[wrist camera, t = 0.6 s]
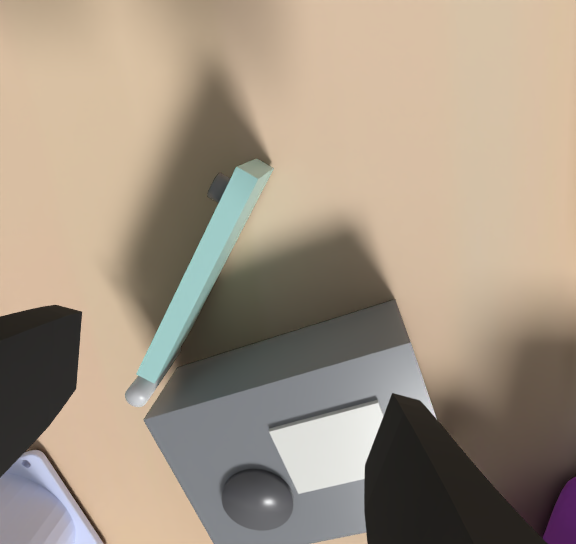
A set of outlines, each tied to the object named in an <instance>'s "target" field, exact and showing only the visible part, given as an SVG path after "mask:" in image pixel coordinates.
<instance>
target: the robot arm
mask: <svg viewBox="0 0 576 544" xmlns="http://www.w3.org/2000/svg"><path fill="white" fill-rule="evenodd" d="M81 319H82V312H81V311H77V310H73V309H70V308H66V307H62V306H58V305H51V306H45V307H39V308H35V309H30V310H26V311H21V312H17V313H13V314H9V315H5V316H1V317H0V544H104V543H103V542H102V540H101V539H100V537H99V536H98V534H97V533H96V531H95V530H94V528H93V527H92V525H91V524H90V522H89V521H88V519H87V518H86V516H85V515H84V513H83V512H82V510H81V509H80V507H79V506H78V504H77V503H76V501H75V500H74V498H73V497H72V495H71V494H70V492H69V491H68V489H67V487H66V486H65V484H64V483H63V481H62V480H61V478H60V477H59V475H58V474H57V472H56V471H55V469H54V468H53V466H52V465H51V463H50V462H49V460H48V459H47V457H46V456H45V454H44V453H43V452H41V451H39V450H31V451H28V452H25V451H26V450H27V449H28V448H29V447H30V446H31V445H32V444H33V443H34V442H35V441H36V440H37V438H38V437H39V436H40V435H41V434H42V433H43V432H44V431H45V430H46V429H47V428H48V426H49V425H50V424H51V422H52V421H53V420H54V419H55V417H56V416H57V415H58V413H59V412H60V411H61V409H62V408H63V406H64V405H65V404H66V402H67V401H68V399H69V398H70V397H71V395H72V394H73V392H74V391H75V390H76V383H77V370H78V357H79V345H80V332H81ZM364 513H365V523H366V533H367V542H368V544H547V543H546V542H545V541H544V540H543V539H542V538H541V537H540V536H539V535H538V534H537V533H536V532H535V531H534V529H533V528H532V527H531V526H530V525H529V524H528V523H527V522H526V521H525V520H524V519H523V518H522V517H521V516H520V515H519V514H518V513H517V512H516V510H515V509H514V508H513V507H512V506H511V505H510V504H509V503H508V502H507V501H506V500H505V499H504V498H503V497H502V495H501V494H500V493H499V492H498V491H497V490H496V489H495V488H494V487H493V485H492V484H491V483H490V482H489V481H488V480H487V479H486V477H485V476H484V475H483V474H482V473H481V472H480V471H479V469H478V468H477V467H476V466H475V465H474V464H473V462H472V461H471V460H470V459H469V458H468V456H467V455H466V454H465V453H464V452H463V450H462V449H461V448H460V447H459V446H458V444H457V443H456V442H455V441H454V440H453V438H452V437H451V436H450V435H449V434H448V432H447V431H446V430H445V429H444V428H443V426H442V425H441V424H440V423H439V421H438V420H437V419H436V418H435V417H434V415H433V414H432V413H431V412H430V411H429V410H428V409H427V407H426V406H425V405H424V404H423V403H422V402H421V401H420V400H417V399H413V398H410V397H406V396H402V395H398V394H394V393H392V395H391V397H390V400H389V403H388V405H387V408H386V411H385V413H384V416H383V419H382V421H381V424H380V426H379V429H378V432H377V434H376V437H375V440H374V442H373V445H372V448H371V450H370V453H369V455H368V458H367V461H366V463H365V479H364Z"/></svg>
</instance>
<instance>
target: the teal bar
mask: <svg viewBox="0 0 576 544" xmlns="http://www.w3.org/2000/svg"><path fill="white" fill-rule="evenodd" d="M273 169H274V168H273V167H271V166H269V165H267V164H265V163H264V162H262V161H260V160H258V159H257V158H256V159H254V160H251V161H249V162H246V163H244V164H242V165H239V166H237V167H236V168H235V170H234V173H233V175H232V177H231V178H229V177H227V176H225V175H223V174H222V173H219V174H218V175H217V176H216V178H215V179H214V181H213V183H212V184H211V187H210V189H209V191H208V195H207V197H208V198H210V199H212V200H214V201H216V202H218V203H219V204H218V206H217V208H216V210H215V212H214V214H213V216H212V218H211V220H210V222H209V224H208V226H207V229H206V231H205V233H204V235H203V237H202V239H201V241H200V243H199V245H198V247H197V249H196V251H195V253H194V256H193V258H192V260H191V262H190V264H189V266H188V268H187V270H186V272H185V274H184V276H183V278H182V280H181V282H180V285H179V287H178V289H177V291H176V293H175V295H174V297H173V299H172V301H171V303H170V305H169V307H168V309H167V312H166V314H165V316H164V318H163V320H162V322H161V324H160V326H159V328H158V330H157V332H156V334H155V336H154V338H153V341H152V343H151V345H150V347H149V349H148V351H147V353H146V355H145V357H144V359H143V361H142V363H141V365H140V368H139V370H138V372H137V374H136V375H138V377H137V378H136V379H135V381H134V382H133V383H132V385H131V386H130V387H129V388H128V390H127V391H126V393H125V398H126V400H127V402H128V403H129V404H130V405H132V406H135V407H141V406H144V405H145V404H146V402H147V401H148V399H149V398H150V396H151V395H152V394H153V392H154V391H155V389H156V388H157V386H158V385H159V383H160V382H161V380H162V379H163V377H164V376H165V374H166V373H167V371H168V370H169V369H170V367H171V366H172V364H173V363H174V361H175V360H176V358H177V357H178V355H179V354H180V352H181V345H182V344H183V342H184V341H185V340H186V338H187V336H188V334H189V332H190V330H191V328H192V326H193V324H194V322H195V321H196V319H197V317H198V315H199V313H200V311H201V309H202V307H203V305H204V303H205V301H206V299H207V297H208V295H209V293H210V291H211V289H212V288H213V286H214V284H215V282H216V280H217V278H218V276H219V274H220V272H221V270H222V268H223V266H224V264H225V262H226V260H227V258H228V256H229V255H230V253H231V251H232V249H233V247H234V245H235V243H236V241H237V239H238V237H239V235H240V233H241V231H242V229H243V227H244V225H245V223H246V221H247V220H248V218H249V216H250V214H251V212H252V210H253V208H254V206H255V204H256V202H257V200H258V198H259V196H260V194H261V192H262V190H263V188H264V187H265V185H266V183H267V181H268V179H269V177H270V175H271V173H272V171H273Z"/></svg>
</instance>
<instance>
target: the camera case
mask: <svg viewBox="0 0 576 544" xmlns="http://www.w3.org/2000/svg"><path fill="white" fill-rule="evenodd" d="M392 393H394V394H398V395H402V396H406V397H410V398H413V399H417V400H420V401H421V402H422V403H423V404H424V405H425V406H426V407H427V409H428V410H429V411H430V412H431V413H432V414H433V415H434V417H435V418H436V415H435V412H434V409H433V406H432V403H431V400H430V398H429V395H428V392H427V389H426V386H425V383H424V380H423V377H422V374H421V371H420V368H419V365H418V363H417V360H416V357H415V354H414V351H413V348H412V345H411V342H410V339H409V337H408V334H407V331H406V328H405V325H404V323H403V320H402V317H401V314H400V311H399V309H398V306H397V303H396V300H392V301H388V302H385V303H382V304H379V305H376V306H372V307H369V308H366V309H363V310H360V311H356V312H353V313H350V314H347V315H344V316H340V317H337V318H334V319H331V320H328V321H324V322H321V323H318V324H315V325H312V326H308V327H305V328H302V329H299V330H296V331H293V332H289V333H286V334H283V335H280V336H277V337H273V338H270V339H267V340H264V341H261V342H257V343H254V344H251V345H248V346H245V347H241V348H238V349H235V350H232V351H229V352H225V353H222V354H219V355H216V356H213V357H209V358H206V359H203V360H200V361H197V362H193V363H190V364H187V365H184V366H181V367H178V368H177V369H176V370H175V372H174V374H173V375H172V377H171V378H170V380H169V381H168V383H167V384H166V386H165V387H164V389H163V390H162V392H161V393H160V395H159V397H158V398H157V400H156V401H155V403H154V404H153V406H152V407H151V409H150V410H149V412H148V413H147V415H146V417H145V418H144V422H145V424H146V425H147V427H148V429H149V431H150V432H151V434H152V436H153V438H154V439H155V441H156V443H157V445H158V447H159V448H160V450H161V452H162V454H163V455H164V457H165V459H166V461H167V462H168V464H169V466H170V468H171V469H172V471H173V473H174V475H175V476H176V478H177V480H178V482H179V483H180V485H181V487H182V489H183V490H184V492H185V494H186V496H187V498H188V499H189V501H190V503H191V505H192V506H193V508H194V510H195V512H196V513H197V515H198V517H199V519H200V520H201V522H202V524H203V526H204V527H205V529H206V531H207V533H208V534H209V536H210V538H211V540H212V541H213V543H214V544H311V543H316V542H321V541H326V540H331V539H336V538H341V537H346V536H350V535H355V534H360V533H365V532H366V523H365V513H364V479H365V463H366V461H367V458H368V455H369V453H370V450H371V448H372V445H373V442H374V440H375V437H376V434H377V432H378V429H379V426H380V424H381V421H382V419H383V416H384V413H385V411H386V408H387V405H388V403H389V400H390V397H391V395H392ZM436 419H437V418H436Z"/></svg>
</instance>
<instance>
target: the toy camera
mask: <svg viewBox="0 0 576 544" xmlns="http://www.w3.org/2000/svg"><path fill="white" fill-rule="evenodd" d="M542 539H543V540H544V541H545V542H546V543H547V544H576V477H574V478H572V479H571V480H569V481H568V482H567V483H566V485H565V486H564V488H563V489H562V491H561V493H560V495H559V497H558V499H557V502H556V504H555V506H554V509H553V512H552V514H551V517H550V520H549V522H548V525H547V527H546V530H545V533H544V535H543V538H542Z"/></svg>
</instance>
